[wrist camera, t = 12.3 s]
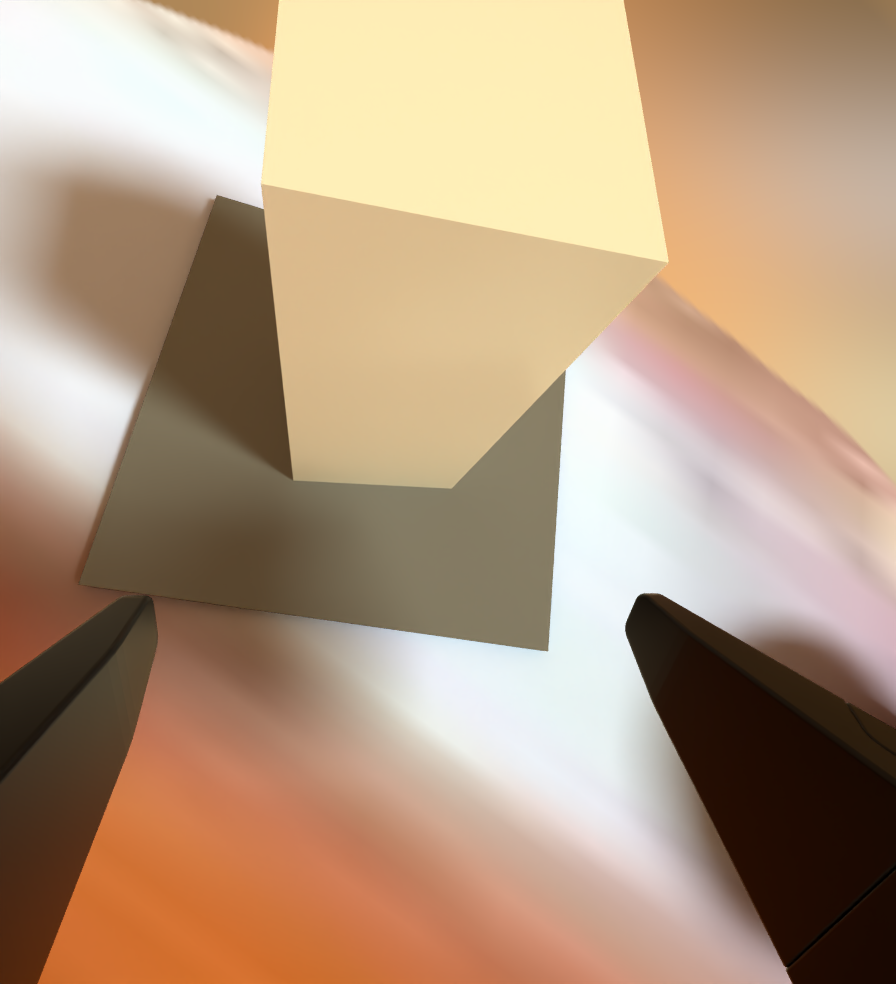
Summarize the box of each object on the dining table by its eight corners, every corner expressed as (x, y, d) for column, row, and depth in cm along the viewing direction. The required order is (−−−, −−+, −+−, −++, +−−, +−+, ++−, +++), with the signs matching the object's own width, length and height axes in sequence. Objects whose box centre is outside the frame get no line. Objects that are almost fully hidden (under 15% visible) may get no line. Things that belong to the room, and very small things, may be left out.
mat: (543, 650, 18) (547, 651, 18) (84, 585, 15) (78, 584, 15) (565, 308, 23) (569, 302, 22) (218, 203, 20) (216, 194, 19)
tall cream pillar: (451, 488, 18) (668, 263, 7) (293, 480, 17) (261, 182, 6) (448, 354, 20) (622, -3, 9) (302, 336, 18) (291, -117, 7)
